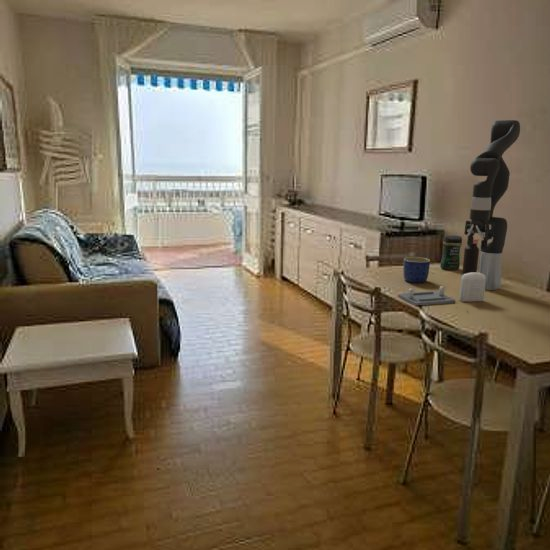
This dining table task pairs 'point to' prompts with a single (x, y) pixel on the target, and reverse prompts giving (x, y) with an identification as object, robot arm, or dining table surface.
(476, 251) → the bottle
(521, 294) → the dining table surface
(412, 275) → the planter
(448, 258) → the coffee jar
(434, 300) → the docking tray
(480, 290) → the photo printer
